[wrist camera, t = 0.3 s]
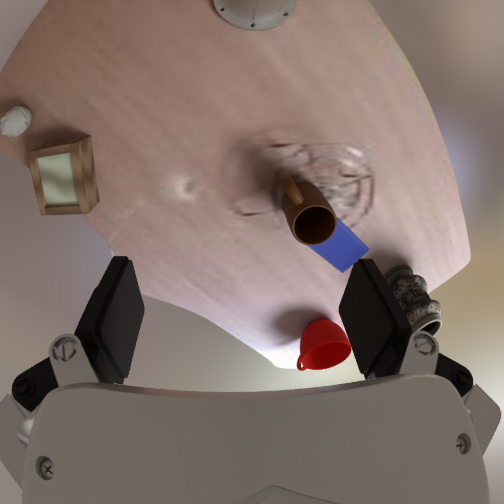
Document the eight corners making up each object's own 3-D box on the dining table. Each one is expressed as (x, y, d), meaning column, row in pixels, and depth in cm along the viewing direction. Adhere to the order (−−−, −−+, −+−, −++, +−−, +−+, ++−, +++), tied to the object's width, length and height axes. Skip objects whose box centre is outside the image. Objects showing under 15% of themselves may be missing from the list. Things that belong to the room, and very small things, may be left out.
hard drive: (305, 245, 53) (342, 273, 58) (335, 216, 50) (369, 249, 55) (304, 240, 54) (340, 269, 60) (333, 213, 51) (366, 245, 56)
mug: (259, 177, 46) (265, 199, 38) (296, 153, 43) (310, 170, 36) (294, 225, 52) (305, 254, 44) (328, 205, 49) (345, 230, 42)
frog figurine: (16, 106, 31) (-6, 113, 25) (38, 99, 32) (16, 106, 26) (17, 133, 34) (-5, 143, 29) (39, 129, 35) (17, 138, 29)
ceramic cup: (276, 341, 72) (281, 371, 64) (317, 304, 65) (327, 336, 57) (310, 351, 77) (316, 379, 69) (350, 318, 69) (361, 347, 61)
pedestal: (43, 144, 37) (27, 152, 33) (91, 135, 38) (76, 142, 34) (53, 203, 44) (41, 215, 40) (99, 201, 46) (88, 213, 41)
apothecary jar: (367, 289, 63) (395, 346, 49) (399, 254, 58) (436, 308, 43) (394, 301, 67) (420, 352, 53) (422, 271, 61) (456, 319, 47)
